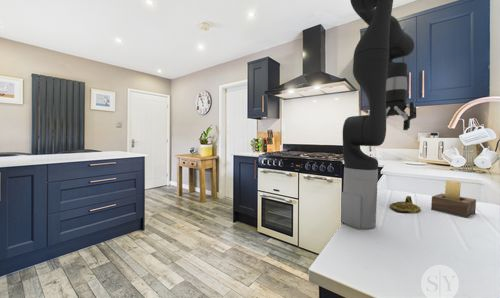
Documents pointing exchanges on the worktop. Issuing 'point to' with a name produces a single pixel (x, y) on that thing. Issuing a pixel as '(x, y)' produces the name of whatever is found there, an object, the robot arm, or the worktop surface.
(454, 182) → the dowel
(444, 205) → the socket block
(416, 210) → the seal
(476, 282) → the worktop surface
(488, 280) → the worktop surface
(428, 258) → the worktop surface
